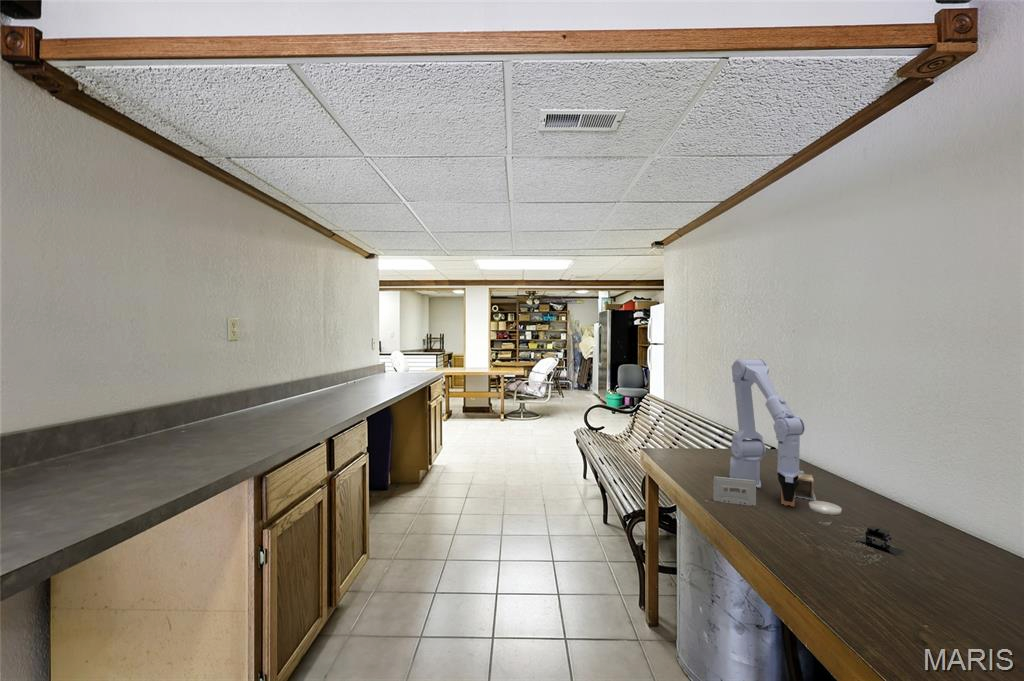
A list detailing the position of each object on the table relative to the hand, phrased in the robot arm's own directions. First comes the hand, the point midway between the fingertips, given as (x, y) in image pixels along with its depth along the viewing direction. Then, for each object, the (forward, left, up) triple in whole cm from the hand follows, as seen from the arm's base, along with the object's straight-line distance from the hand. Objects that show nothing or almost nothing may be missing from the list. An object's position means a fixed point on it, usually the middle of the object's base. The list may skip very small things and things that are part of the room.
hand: (787, 499), depth 138 cm
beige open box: (+4, +11, -1) cm, 12 cm away
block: (0, 0, -1) cm, 1 cm away
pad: (+4, +11, -1) cm, 12 cm away
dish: (+9, 0, -1) cm, 10 cm away
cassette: (-15, -8, -2) cm, 17 cm away
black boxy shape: (+18, -21, -2) cm, 28 cm away
